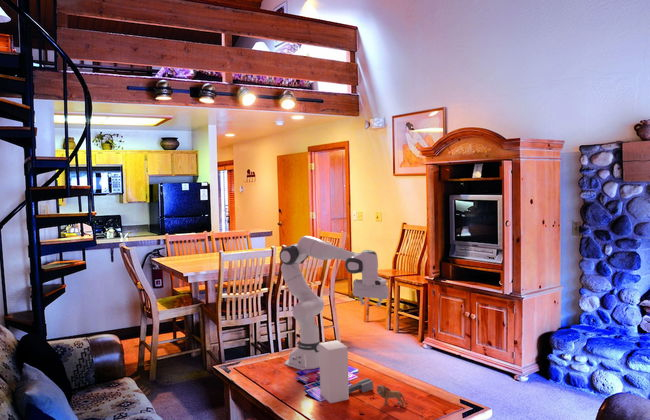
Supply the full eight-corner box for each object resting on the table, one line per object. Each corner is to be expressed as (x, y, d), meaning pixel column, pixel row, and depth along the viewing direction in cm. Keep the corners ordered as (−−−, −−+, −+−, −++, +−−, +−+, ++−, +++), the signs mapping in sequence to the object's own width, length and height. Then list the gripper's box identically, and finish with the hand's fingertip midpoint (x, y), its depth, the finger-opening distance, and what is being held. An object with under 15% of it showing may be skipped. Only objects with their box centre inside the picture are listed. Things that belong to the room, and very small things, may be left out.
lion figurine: (376, 405, 236) (375, 387, 236) (377, 400, 241) (377, 382, 241) (407, 407, 233) (407, 389, 232) (408, 402, 238) (407, 384, 237)
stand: (338, 390, 255) (337, 340, 253) (348, 399, 244) (347, 346, 242) (320, 394, 251) (318, 343, 249) (330, 403, 240) (328, 350, 238)
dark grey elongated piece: (336, 389, 251) (338, 397, 251) (340, 393, 246) (342, 401, 247) (367, 377, 257) (369, 385, 258) (372, 381, 253) (373, 388, 253)
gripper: (350, 279, 272) (351, 304, 272) (385, 282, 261) (385, 308, 262) (355, 277, 277) (356, 302, 278) (389, 280, 267) (390, 306, 267)
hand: (370, 305), depth 270 cm, fingers open, 8 cm apart
